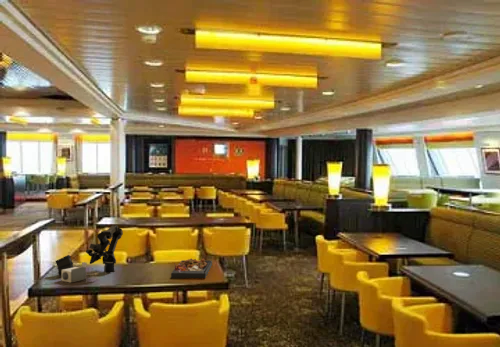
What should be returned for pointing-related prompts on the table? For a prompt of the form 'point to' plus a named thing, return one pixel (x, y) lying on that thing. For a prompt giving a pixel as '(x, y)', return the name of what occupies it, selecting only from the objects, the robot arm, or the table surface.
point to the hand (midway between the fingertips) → (90, 263)
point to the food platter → (192, 269)
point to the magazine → (64, 264)
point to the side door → (79, 273)
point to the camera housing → (67, 274)
